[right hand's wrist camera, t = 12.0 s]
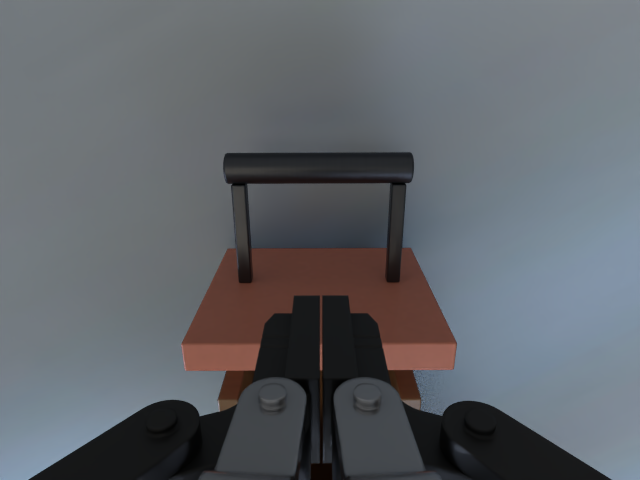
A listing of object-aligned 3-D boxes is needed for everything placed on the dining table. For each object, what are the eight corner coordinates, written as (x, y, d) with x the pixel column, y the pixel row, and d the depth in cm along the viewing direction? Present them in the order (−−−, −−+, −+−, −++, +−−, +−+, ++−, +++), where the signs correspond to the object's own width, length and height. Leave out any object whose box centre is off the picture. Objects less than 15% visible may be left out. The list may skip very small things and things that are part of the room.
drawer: (218, 138, 22) (158, 184, 14) (419, 137, 22) (477, 183, 14) (249, 508, 32) (224, 667, 23) (391, 508, 32) (416, 666, 23)
